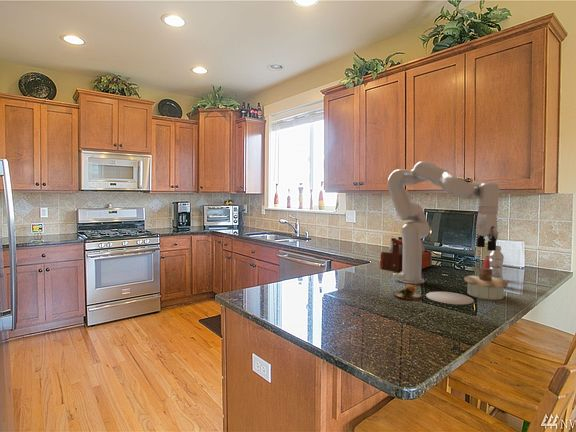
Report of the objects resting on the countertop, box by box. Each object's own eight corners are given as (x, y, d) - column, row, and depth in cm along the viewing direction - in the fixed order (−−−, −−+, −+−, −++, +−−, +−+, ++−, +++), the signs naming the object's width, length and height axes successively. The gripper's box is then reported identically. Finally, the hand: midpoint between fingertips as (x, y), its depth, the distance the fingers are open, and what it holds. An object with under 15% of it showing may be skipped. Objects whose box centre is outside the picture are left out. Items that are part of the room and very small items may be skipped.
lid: (474, 286, 147) (475, 272, 147) (458, 277, 164) (458, 264, 164) (516, 287, 146) (516, 273, 146) (494, 278, 163) (495, 265, 163)
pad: (434, 304, 142) (434, 303, 142) (420, 291, 161) (420, 291, 161) (482, 305, 141) (482, 304, 141) (462, 292, 159) (462, 292, 159)
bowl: (476, 299, 149) (476, 286, 149) (462, 290, 163) (462, 278, 163) (509, 300, 148) (510, 286, 147) (493, 291, 162) (493, 279, 161)
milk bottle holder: (433, 265, 223) (434, 236, 222) (410, 274, 198) (411, 241, 197) (402, 261, 238) (403, 234, 237) (377, 269, 212) (378, 238, 211)
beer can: (496, 278, 189) (497, 256, 189) (498, 280, 183) (499, 258, 183) (483, 276, 192) (483, 255, 191) (484, 279, 186) (484, 257, 185)
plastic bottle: (498, 287, 169) (499, 247, 168) (484, 284, 175) (486, 245, 174) (505, 286, 172) (507, 246, 171) (492, 283, 178) (493, 244, 177)
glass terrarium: (401, 292, 161) (401, 277, 160) (426, 298, 152) (426, 281, 152) (388, 298, 152) (388, 281, 152) (414, 304, 144) (414, 286, 143)
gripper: (470, 209, 162) (468, 245, 163) (488, 211, 145) (486, 251, 146) (486, 209, 162) (485, 245, 163) (507, 211, 144) (505, 252, 145)
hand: (485, 248), depth 154 cm, fingers open, 9 cm apart
